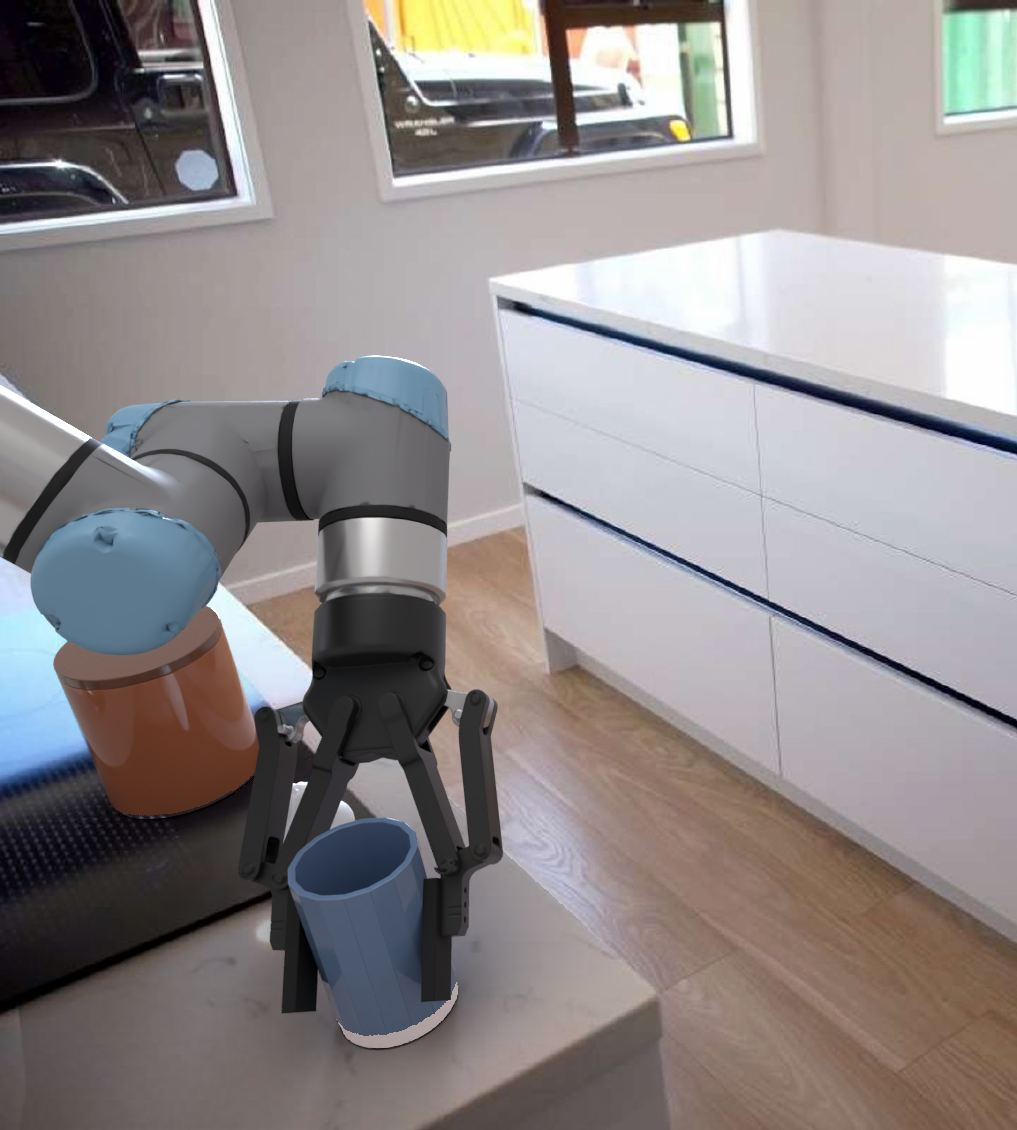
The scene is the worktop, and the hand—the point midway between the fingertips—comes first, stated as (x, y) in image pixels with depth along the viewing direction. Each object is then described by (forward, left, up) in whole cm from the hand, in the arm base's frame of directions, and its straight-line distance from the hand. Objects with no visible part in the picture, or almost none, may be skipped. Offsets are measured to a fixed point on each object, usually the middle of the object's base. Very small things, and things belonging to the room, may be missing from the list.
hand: (367, 1005), depth 71 cm
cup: (+1, +3, -3) cm, 5 cm away
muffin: (-3, +18, -4) cm, 19 cm away
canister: (-12, +35, -3) cm, 37 cm away
